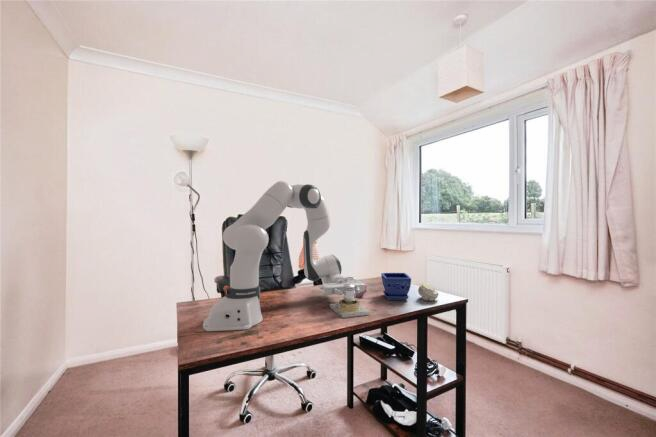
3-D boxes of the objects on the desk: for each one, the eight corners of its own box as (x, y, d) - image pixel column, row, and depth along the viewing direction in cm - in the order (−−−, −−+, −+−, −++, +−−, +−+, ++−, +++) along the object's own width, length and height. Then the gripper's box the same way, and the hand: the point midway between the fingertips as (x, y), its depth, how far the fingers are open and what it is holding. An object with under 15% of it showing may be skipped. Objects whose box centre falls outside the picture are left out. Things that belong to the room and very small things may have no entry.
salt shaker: (346, 309, 124) (346, 286, 124) (341, 306, 129) (341, 284, 129) (356, 308, 126) (356, 285, 126) (351, 304, 131) (352, 283, 131)
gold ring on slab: (342, 318, 118) (342, 308, 118) (329, 307, 133) (329, 298, 132) (370, 314, 123) (370, 305, 123) (355, 304, 137) (355, 295, 137)
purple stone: (362, 300, 148) (368, 289, 147) (354, 296, 149) (360, 284, 148) (363, 295, 158) (369, 284, 157) (356, 291, 158) (361, 280, 158)
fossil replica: (433, 296, 151) (414, 298, 151) (431, 280, 152) (413, 282, 151) (443, 301, 139) (423, 303, 139) (441, 284, 140) (422, 286, 139)
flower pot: (384, 301, 142) (384, 277, 141) (380, 294, 155) (380, 272, 155) (411, 301, 141) (411, 278, 141) (405, 294, 154) (405, 272, 154)
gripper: (318, 280, 136) (328, 287, 123) (357, 277, 143) (370, 283, 130) (318, 293, 136) (328, 301, 123) (356, 289, 143) (370, 297, 130)
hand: (350, 292), depth 127 cm, fingers open, 7 cm apart
